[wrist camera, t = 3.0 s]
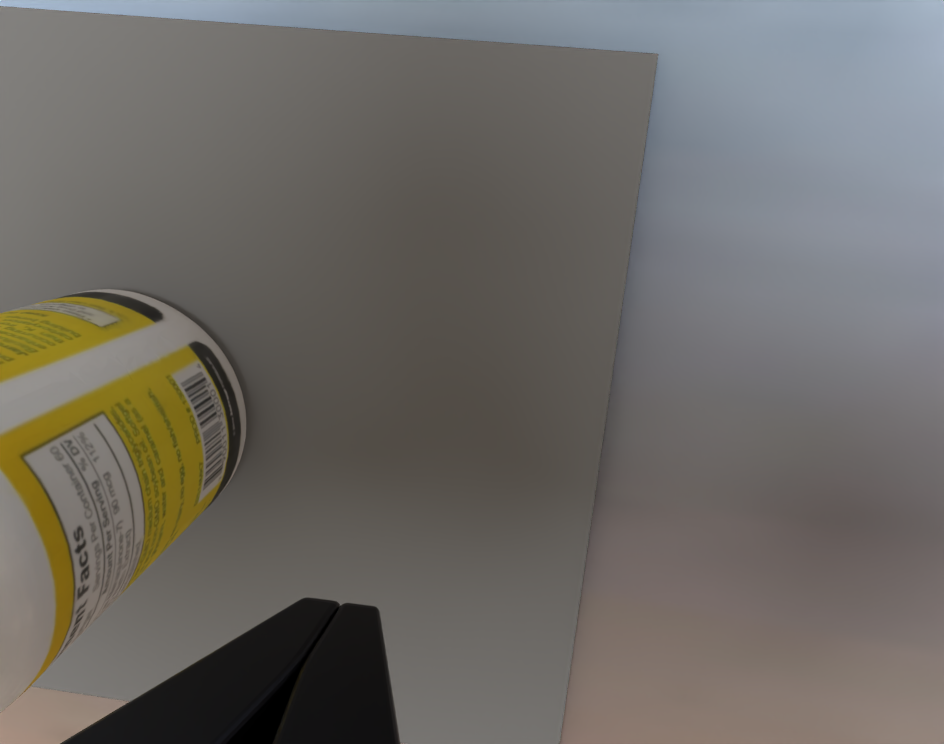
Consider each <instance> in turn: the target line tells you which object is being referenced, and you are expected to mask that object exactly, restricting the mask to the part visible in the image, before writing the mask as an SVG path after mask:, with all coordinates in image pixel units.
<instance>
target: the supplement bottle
mask: <svg viewBox="0 0 944 744" xmlns="http://www.w3.org/2000/svg"><path fill="white" fill-rule="evenodd" d="M245 438H246V410H245V404H244V399H243V395H242V391H241V388H240V385H239V382H238V380H237V377H236V375H235V372H234V370H233V368H232V366H231V365H230V363H229V361H228V359H227V358H226V356H225V355H224V353H223V352H222V350H221V349H220V348H219V346H218V345H217V344H216V343H215V342H214V341H213V339H212V338H211V337H210V336H209V335H208V334H207V333H206V332H205V331H204V330H203V329H202V328H201V327H200V326H198V325H197V324H196V323H195V322H193V321H192V320H191V319H189V318H188V317H187V316H185V315H184V314H182V313H181V312H179V311H177V310H176V309H174V308H172V307H170V306H169V305H167V304H165V303H163V302H160V301H158V300H156V299H154V298H151V297H148V296H145V295H142V294H139V293H135V292H130V291H124V290H115V289H99V290H90V291H84V292H78V293H74V294H70V295H67V296H63V297H59V298H56V299H53V300H48V301H43V302H40V303H36V304H32V305H29V306H25V307H21V308H18V309H14V310H10V311H7V312H3V313H0V712H2V711H3V710H4V709H5V708H7V707H8V706H9V705H10V704H11V703H12V702H14V701H15V700H16V699H17V698H18V697H20V696H21V695H22V694H23V693H24V692H25V691H26V690H27V689H28V688H29V687H30V686H31V685H32V684H33V683H34V682H35V681H36V680H37V679H38V678H39V677H40V676H41V675H42V674H43V673H44V672H45V671H46V670H47V669H48V668H49V667H50V666H51V665H52V663H53V662H54V661H55V660H56V659H57V658H58V657H59V656H60V655H61V654H62V653H63V652H64V651H65V650H66V649H67V648H68V647H69V646H70V645H71V644H72V643H73V642H74V641H75V640H76V639H77V638H78V637H79V636H80V635H81V634H82V633H83V632H84V631H85V630H86V629H87V628H88V627H89V626H90V625H91V624H92V623H93V622H94V621H95V620H96V619H97V618H98V617H99V616H100V615H101V614H102V613H103V612H104V611H105V610H106V609H107V608H108V607H109V606H110V605H111V604H112V603H113V602H114V601H115V600H116V599H117V598H118V597H119V596H120V595H121V594H122V593H123V592H124V591H125V590H126V589H127V588H128V587H129V586H130V585H131V584H132V583H133V582H134V581H135V580H136V579H137V578H138V577H139V576H140V575H141V574H142V573H143V572H144V571H145V570H146V569H147V568H148V567H149V566H150V565H151V564H152V563H153V562H154V561H155V560H156V559H157V558H158V557H159V556H160V555H161V554H162V553H163V552H164V551H165V550H166V549H167V548H168V547H169V546H170V545H171V544H172V543H173V542H174V541H175V540H176V539H177V538H178V537H179V536H180V535H181V534H182V533H183V532H184V531H185V530H186V529H187V528H188V527H189V526H190V525H191V523H192V522H193V521H194V520H195V519H196V518H197V517H198V516H199V515H200V514H201V513H202V512H203V511H204V510H205V509H206V508H208V507H209V506H210V505H211V504H212V502H213V501H214V500H215V499H216V498H217V497H218V496H219V495H220V494H221V492H222V491H223V490H224V489H225V487H226V486H227V485H228V483H229V482H230V480H231V478H232V477H233V475H234V473H235V471H236V469H237V466H238V464H239V462H240V459H241V456H242V452H243V448H244V443H245Z"/></svg>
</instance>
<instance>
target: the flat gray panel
mask: <svg viewBox="0 0 944 744" xmlns="http://www.w3.org/2000/svg"><path fill="white" fill-rule="evenodd" d="M657 59H658V54H653V53H639V52H625V51H611V50H597V49H583V48H570V47H556V46H542V45H528V44H514V43H501V42H487V41H473V40H459V39H445V38H431V37H418V36H404V35H390V34H376V33H362V32H348V31H335V30H321V29H307V28H293V27H279V26H266V25H252V24H238V23H224V22H210V21H196V20H183V19H169V18H155V17H141V16H127V15H113V14H100V13H86V12H72V11H58V10H44V9H31V8H17V7H3V6H0V313H3V312H7V311H10V310H14V309H18V308H21V307H25V306H29V305H32V304H36V303H40V302H43V301H48V300H53V299H56V298H59V297H63V296H67V295H70V294H74V293H78V292H84V291H90V290H99V289H115V290H124V291H130V292H135V293H139V294H142V295H145V296H148V297H151V298H154V299H156V300H158V301H160V302H163V303H165V304H167V305H169V306H170V307H172V308H174V309H176V310H177V311H179V312H181V313H182V314H184V315H185V316H187V317H188V318H189V319H191V320H192V321H193V322H195V323H196V324H197V325H198V326H200V327H201V328H202V329H203V330H204V331H205V332H206V333H207V334H208V335H209V336H210V337H211V338H212V339H213V341H214V342H215V343H216V344H217V345H218V346H219V348H220V349H221V350H222V352H223V353H224V355H225V356H226V358H227V359H228V361H229V363H230V365H231V366H232V368H233V370H234V372H235V375H236V377H237V380H238V382H239V385H240V388H241V391H242V395H243V399H244V404H245V410H246V438H245V443H244V448H243V452H242V456H241V459H240V462H239V464H238V466H237V469H236V471H235V473H234V475H233V477H232V478H231V480H230V482H229V483H228V485H227V486H226V487H225V489H224V490H223V491H222V492H221V494H220V495H219V496H218V497H217V498H216V499H215V500H214V501H213V502H212V504H211V505H210V506H209V507H208V508H206V509H205V510H204V511H203V512H202V513H201V514H200V515H199V516H198V517H197V518H196V519H195V520H194V521H193V522H192V523H191V525H190V526H189V527H188V528H187V529H186V530H185V531H184V532H183V533H182V534H181V535H180V536H179V537H178V538H177V539H176V540H175V541H174V542H173V543H172V544H171V545H170V546H169V547H168V548H167V549H166V550H165V551H164V552H163V553H162V554H161V555H160V556H159V557H158V558H157V559H156V560H155V561H154V562H153V563H152V564H151V565H150V566H149V567H148V568H147V569H146V570H145V571H144V572H143V573H142V574H141V575H140V576H139V577H138V578H137V579H136V580H135V581H134V582H133V583H132V584H131V585H130V586H129V587H128V588H127V589H126V590H125V591H124V592H123V593H122V594H121V595H120V596H119V597H118V598H117V599H116V600H115V601H114V602H113V603H112V604H111V605H110V606H109V607H108V608H107V609H106V610H105V611H104V612H103V613H102V614H101V615H100V616H99V617H98V618H97V619H96V620H95V621H94V622H93V623H92V624H91V625H90V626H89V627H88V628H87V629H86V630H85V631H84V632H83V633H82V634H81V635H80V636H79V637H78V638H77V639H76V640H75V641H74V642H73V643H72V644H71V645H70V646H69V647H68V648H67V649H66V650H65V651H64V652H63V653H62V654H61V655H60V656H59V657H58V658H57V659H56V660H55V661H54V662H53V663H52V665H51V666H50V667H49V668H48V669H47V670H46V671H45V672H44V673H43V674H42V675H41V676H40V677H39V678H38V679H37V680H36V681H35V682H34V683H33V684H32V685H31V686H32V687H39V688H45V689H52V690H58V691H65V692H71V693H78V694H84V695H91V696H97V697H104V698H110V699H117V700H123V701H132V700H134V699H135V698H137V697H139V696H140V695H142V694H144V693H145V692H147V691H149V690H150V689H152V688H154V687H155V686H157V685H159V684H160V683H162V682H164V681H165V680H167V679H169V678H170V677H172V676H174V675H175V674H177V673H179V672H180V671H182V670H184V669H185V668H187V667H189V666H190V665H192V664H194V663H195V662H197V661H199V660H200V659H202V658H204V657H205V656H207V655H209V654H210V653H212V652H214V651H215V650H217V649H219V648H220V647H222V646H224V645H225V644H227V643H228V642H230V641H232V640H233V639H235V638H237V637H238V636H240V635H242V634H243V633H245V632H247V631H248V630H250V629H252V628H253V627H255V626H257V625H258V624H260V623H262V622H263V621H265V620H267V619H268V618H270V617H272V616H273V615H275V614H277V613H278V612H280V611H282V610H283V609H285V608H287V607H288V606H290V605H292V604H293V603H295V602H297V601H298V600H300V599H302V598H305V597H310V598H318V599H325V600H332V601H337V602H338V603H339V604H340V606H341V605H342V604H344V603H355V604H362V605H370V606H375V607H377V608H378V609H379V611H380V617H381V623H382V629H383V636H384V642H385V648H386V655H387V661H388V667H389V674H390V680H391V686H392V693H393V699H394V706H395V712H396V718H397V725H398V731H399V737H400V743H404V744H560V738H561V731H562V724H563V717H564V710H565V703H566V696H567V689H568V682H569V675H570V668H571V661H572V654H573V647H574V640H575V633H576V626H577V619H578V612H579V605H580V598H581V591H582V584H583V577H584V570H585V563H586V556H587V549H588V542H589V535H590V528H591V521H592V514H593V507H594V500H595V493H596V486H597V479H598V472H599V465H600V458H601V451H602V444H603V437H604V430H605V423H606V416H607V409H608V402H609V395H610V388H611V381H612V374H613V367H614V360H615V353H616V346H617V339H618V332H619V325H620V318H621V311H622V304H623V297H624V290H625V283H626V276H627V269H628V262H629V255H630V248H631V241H632V234H633V227H634V220H635V213H636V206H637V199H638V192H639V185H640V178H641V171H642V164H643V157H644V150H645V143H646V136H647V129H648V122H649V115H650V108H651V101H652V94H653V87H654V80H655V73H656V66H657Z"/></svg>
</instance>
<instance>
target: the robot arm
mask: <svg viewBox="0 0 944 744" xmlns="http://www.w3.org/2000/svg"><path fill="white" fill-rule="evenodd" d="M60 744H400V737H399V731H398V725H397V718H396V712H395V706H394V699H393V693H392V686H391V680H390V674H389V667H388V661H387V655H386V648H385V642H384V636H383V629H382V623H381V617H380V611H379V609H378V608H377V607H375V606H370V605H362V604H355V603H344V604H342V605H341V606H340V604H339V603H338V602H337V601H332V600H325V599H318V598H310V597H305V598H302V599H300V600H298V601H297V602H295V603H293V604H292V605H290V606H288V607H287V608H285V609H283V610H282V611H280V612H278V613H277V614H275V615H273V616H272V617H270V618H268V619H267V620H265V621H263V622H262V623H260V624H258V625H257V626H255V627H253V628H252V629H250V630H248V631H247V632H245V633H243V634H242V635H240V636H238V637H237V638H235V639H233V640H232V641H230V642H228V643H227V644H225V645H224V646H222V647H220V648H219V649H217V650H215V651H214V652H212V653H210V654H209V655H207V656H205V657H204V658H202V659H200V660H199V661H197V662H195V663H194V664H192V665H190V666H189V667H187V668H185V669H184V670H182V671H180V672H179V673H177V674H175V675H174V676H172V677H170V678H169V679H167V680H165V681H164V682H162V683H160V684H159V685H157V686H155V687H154V688H152V689H150V690H149V691H147V692H145V693H144V694H142V695H140V696H139V697H137V698H135V699H134V700H132V701H130V702H129V703H127V704H125V705H124V706H122V707H120V708H119V709H117V710H115V711H114V712H112V713H110V714H109V715H107V716H105V717H104V718H102V719H100V720H99V721H97V722H95V723H94V724H92V725H90V726H89V727H87V728H85V729H84V730H82V731H80V732H79V733H77V734H75V735H74V736H72V737H70V738H69V739H67V740H65V741H64V742H62V743H60Z"/></svg>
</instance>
